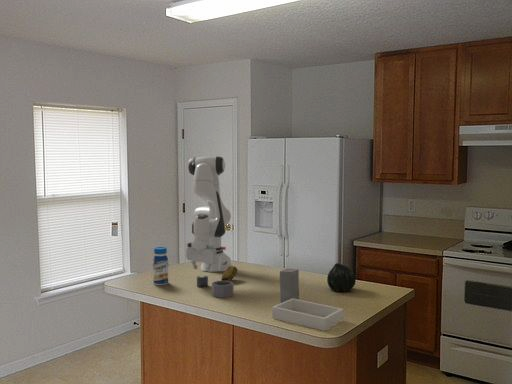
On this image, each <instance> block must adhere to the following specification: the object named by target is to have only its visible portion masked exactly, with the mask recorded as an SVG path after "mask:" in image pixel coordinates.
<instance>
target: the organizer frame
mask: <svg viewBox="0 0 512 384" xmlns="http://www.w3.org/2000/svg"><path fill="white" fill-rule="evenodd" d="M271 308H272V310H271V311H272V313H271V314H272V319H274V320H279V321H283V322H287V323H291V324H295V325H298V326H304V327H306V328H311V329H315V330H318V331H319V330H320V331H325V330H326V331H327V330H329V329H331V328H333V327H334V326H336V325H337V323H338V322H340V321H341V320H343V321H344V308H341V307H337V306H336V307H335V306H331V305H326V304H322V303H318V302H317V303H316V302H312V301H308V300H302V299H299V300H298V299H293V298H292V299H290V300H287V301H285V302H283V303H281V302H280V303H278V304H276V305H273V306H272V307H271ZM341 322H342V321H341ZM341 322H340V323H341ZM335 324H336V325H335ZM338 324H339V323H338ZM333 325H334V326H333ZM332 326H333V327H332ZM330 327H331V328H330ZM328 328H329V329H328Z"/></svg>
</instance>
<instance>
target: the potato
mask: <svg viewBox="0 0 512 384" xmlns="http://www.w3.org/2000/svg"><path fill="white" fill-rule="evenodd" d="M237 273H238V268H237V267H234V266H230V267H228V268H227V269H226V270H225V271H223V273H222V276H221V278H220V281H222V280H223V281H232V280H234V278H235V276H236V275H237Z"/></svg>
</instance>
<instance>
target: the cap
mask: <svg viewBox="0 0 512 384" xmlns="http://www.w3.org/2000/svg"><path fill="white" fill-rule="evenodd" d="M196 287H197V288H203V289H204V288H208V287H209V276H207V275H199V276H196Z"/></svg>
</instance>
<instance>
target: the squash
mask: <svg viewBox="0 0 512 384" xmlns="http://www.w3.org/2000/svg"><path fill="white" fill-rule="evenodd" d="M326 279H327V281H326V282H327V285H328V287H329V288H330V289H331V290H332V291H336V292H338V293H341V292H343V293H347V292H348V291H351V290H352V289H353V288H354V287H355V285H356V275H355V273H354V271H353V270H352V269H350V268H349V267H348V266H346V265H345V264H344V265H343V264H342V263H335V264H334V265H333V266H332V268H331V269H330V270H329V272H328V274H327V278H326Z"/></svg>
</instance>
